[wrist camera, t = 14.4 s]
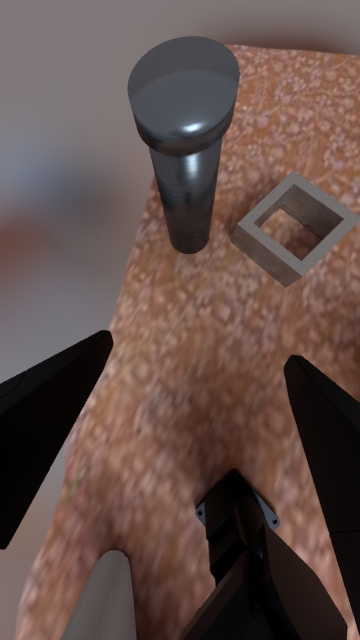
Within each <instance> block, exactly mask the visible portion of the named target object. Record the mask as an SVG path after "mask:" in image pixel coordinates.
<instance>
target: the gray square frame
mask: <svg viewBox="0 0 360 640" xmlns="http://www.w3.org/2000/svg"><path fill="white" fill-rule="evenodd" d="M279 208H281V209H283V210H284V211H285V212H287V213H288V214H289V215H291V216H292V217H293V218H295V219H296V220H297V221H299V222H300V223H301V224H303V225H304V226H306V227H307V228H308V229H310V230H311V231H312V232H314V233H315V234H316V235H318V236H319V237H320V238H322V239H320V240H319V241H318V242H317V243H316V244H315V245H314V246H313V247H312V248H311V249H310V250H309V251H308V252H307V253H306V254H305V255H304V256H303V257H302V258H301V259H300V260H299V259H298V258H297V257H296V256H294V255H293V254H292V253H290V252H289V251H288V250H287V249H285V248H284V247H283V246H282V245H280V244H279V243H278V242H277V241H275V240H274V239H273V238H272V237H270V236H269V235H268V234H266V233H265V232H264V231H263V230H261V229H260V228H259V227H260V226H261V225H262V224H263V223H264V222H265V221H266V220H267V219H268V218H269V217H270V216H272V215H273V214H274V213H275V212H276V211H277V210H278V209H279ZM359 221H360V216H359V215H357V214H356V213H354V212H353V211H351V210H350V209H348V208H347V207H345V206H344V205H343V204H341V203H340V202H338V201H337V200H335V199H334V198H332V197H331V196H329V195H328V194H326V193H325V192H324V191H322V190H321V189H319V188H318V187H316V186H315V185H313V184H312V183H310V182H309V181H307V180H306V179H305V178H303V177H302V176H300V175H299V174H297V173H296V172H294V171H292V172H291V173H290V174H289V175H288V176H287V177H286V178H285V179H284V180H283V181H282V182H281V183H280V184H278V185H277V186H276V187H275V188H274V189H273V190H272V191H271V192H270V193H269V194H268V195H267V196H266V197H265V198H264V199H263V200H262V201H261V202H260V203H258V204H257V205H256V206H255V207H254V208H253V209H252V210H251V211H250V212H249V213H248V214H247V215H246V216H245V217H244V218H243V219H242V220H241V221H240V222H238V223H237V226H236V229H235V232H234V235H233V238H232V241H231V242H232V243H233V244H235V245H236V246H237V247H238V248H239V249H240V250H242V251H243V252H244V253H245V254H246V255H248V256H249V257H250V258H251V259H252V260H254V261H255V262H256V263H257V264H258V265H259V266H261V267H262V268H263V269H264V270H265V271H267V272H268V273H269V274H270V275H271V276H273V277H274V278H275V279H276V280H277V281H278V282H280V283H281V284H282V285H283V286H284V287H288V286H290V285H291V284H293V283H294V282H296V281H297V280H299V279H300V278H302V277H303V276H304V275H305V274H306V273H307V272H308V271H309V270H310V269H311V268H312V267H313V266H314V265H315V264H316V263H317V262H318V261H319V260H320V259H321V258H323V257H324V256H325V255H326V254H327V253H328V252H329V251H330V250H331V249H332V248H333V247H334V246H335V245H336V244H337V243H338V242H339V241H340V240H341V239H342V238H343V237H344V236H345V235H346V234H347V233H348V232H349V231H350V230H351V229H352V228H353V227H354V226H355V225H356V224H357V223H358V222H359Z"/></svg>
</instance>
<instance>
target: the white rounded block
mask: <svg viewBox="0 0 360 640" xmlns="http://www.w3.org/2000/svg"><path fill="white" fill-rule="evenodd" d="M60 640H137V638H136V623H135V610H134V599H133V590H132V580H131V572H130V565H129V561H128V558H127V557H125V555H124V553H123V552H121V551H118V550H110V551H107V552H106V553H104V554H103V555H102V557H101V558H100V559H98V560H97V561H96V563H95V565H94V567H93V569H92V571H91V573H90V575H89V578H88V580H87V582H86V584H85V587H84V589H83V591H82V593H81V595H80V598H79V600H78V602H77V604H76V606H75V609H74V611H73V613H72V615H71V617H70V619H69V622H68V624H67V626H66V628H65V631H64V633H63V635H62V637H61V639H60Z"/></svg>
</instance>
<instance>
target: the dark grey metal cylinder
mask: <svg viewBox="0 0 360 640" xmlns="http://www.w3.org/2000/svg"><path fill="white" fill-rule="evenodd" d="M239 76H240V72H239V66H238V62H237V60H236V58H235V56H234V55H233V53H232V52H231V51H230V50H229V49H228V48H227V47H225V46H224V45H223V44H221V43H219V42H217V41H215V40H212V39H209V38H204V37H193V36H191V37H181V38H176V39H172V40H169V41H167V42H164V43H162V44H160V45H158V46H156V47H154V48H153V49H152V50H150V51H148V52H147V53H146V54H145V55H144V56H143V57H142V58H141V59H140V60H139V61H138V62H137V64H136V65H135V67H134V68H133V70H132V72H131V74H130V77H129V81H128V97H129V100H130V104H131V108H132V111H133V115H134V119H135V123H136V126H137V130H138V133H139V135H140V137H141V138H142V140H143V141H144V142H145V143H146V144H147V145H148V146H149V150H150V154H151V159H152V163H153V167H154V172H155V176H156V180H157V184H158V189H159V193H160V197H161V202H162V206H163V210H164V215H165V219H166V223H167V227H168V232H169V236H170V240H171V243H172V245H173V247H174V248H175V249H176V250H177V251H179V252H181V253H184V254H193V253H196V252H199V251H200V250H202V249H203V248H204V247H205V246H206V244H207V242H208V240H209V234H210V226H211V219H212V211H213V204H214V197H215V189H216V182H217V174H218V167H219V160H220V152H221V145H222V137H223V135H224V134H225V133H226V132H227V130H228V128H229V127H230V124H231V122H232V118H233V114H234V108H235V102H236V96H237V90H238V84H239Z"/></svg>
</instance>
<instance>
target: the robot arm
mask: <svg viewBox="0 0 360 640" xmlns="http://www.w3.org/2000/svg"><path fill="white" fill-rule="evenodd" d="M113 344H114V343H113V339H112V335H111V332H110V331H107V330H101V331H99V332H97V333H95V334H93V335H91V336H89V337H88V338H86V339H84V340H82V341H80V342H78V343H76V344H75V345H73V346H71V347H69V348H67V349H65V350H63V351H62V352H59V353H58V354H56V355H54V356H52V357H50V358H48V359H46V360H44V361H43V362H41V363H39V364H37V365H35V366H33V367H31V368H29V369H28V370H27V371H24V372H22V373H20V374H18V375H16V376H15V377H13V378H10V379H9V380H7V381H5V382H3V383H1V384H0V550H4V549H6V548H7V546H8V545H9V543H10V541H11V539H12V538H13V536H14V534H15V532H16V530H17V528H18V527H19V525H20V523H21V521H22V519H23V518H24V516H25V514H26V512H27V510H28V508H29V506H30V505H31V503H32V501H33V499H34V497H35V495H36V494H37V492H38V490H39V488H40V486H41V484H42V483H43V481H44V479H45V477H46V475H47V473H48V472H49V470H50V467H51V466H52V464H53V462H54V460H55V458H56V456H57V455H58V453H59V451H60V449H61V447H62V445H63V444H64V442H65V440H66V438H67V436H68V434H69V433H70V431H71V429H72V427H73V425H74V423H75V422H76V420H77V418H78V416H79V414H80V412H81V410H82V409H83V407H84V405H85V403H86V401H87V399H88V398H89V396H90V394H91V392H92V390H93V388H94V387H95V385H96V383H97V381H98V379H99V377H100V375H101V374H102V372H103V369H104V367H105V365H106V362H107V360H108V357H109V355H110V353H111V350H112V348H113ZM284 375H285V380H286V386H287V391H288V397H289V401H290V405H291V408H292V412H293V415H294V418H295V422H296V425H297V428H298V432H299V435H300V438H301V442H302V445H303V448H304V452H305V455H306V458H307V462H308V465H309V468H310V472H311V475H312V478H313V482H314V485H315V488H316V492H317V495H318V498H319V502H320V505H321V508H322V512H323V515H324V518H325V522H326V525H327V528H328V531H329V536H330V539H331V542H332V546H333V549H334V552H335V555H336V559H337V562H338V565H339V569H340V572H341V575H342V579H343V582H344V585H345V589H346V592H347V595H348V599H349V602H350V605H351V609H352V612H353V615H354V619H355V622H356V625H357V629H358V632H359V635H360V403H359V402H358V401H357V400H355V399H354V398H353V397H352V396H351V395H349V394H348V393H347V392H346V391H344V390H343V389H342V388H341V387H340V386H338V385H337V384H336V383H335V382H333V381H332V380H331V379H330V378H329V377H327V376H326V375H325V374H324V373H322V372H321V371H320V370H319V369H317V368H316V367H315V366H314V365H313V364H311V363H310V362H309V361H308V360H306V359H305V358H304V357H303V356H300V355H291V356H290V357H289V359H288V360H287V362H286V363H285V365H284ZM234 474H237V476H234ZM199 510H201V511H202V512H199ZM196 516H197V517H198V518H199V520H200V521H201V522H202V524H203V525H204V526H205V527H206V539H207V540H208V546H209V562H210V572H211V574H212V575H213V577H214V578H215V585H216V588H215V589H214V591H213V592H212V593H211V595H210V596H209V597H208V599H207V600H206V601H205V603H204V604H203V605H202V606H201V608H199V610H198V611H197V612H196V613H195V616H194V617H193V618H192V620H191V621H190V622H189V624H188V625H187V626H186V628H185V629H184V630H183V632H182V634H181V636H180V639H179V640H347V628H348V626H347V624H346V622H345V620H344V618H343V617H342V615H341V613H340V612H339V610H338V608H337V607H336V605H335V604H334V602H333V600H332V599H331V597H330V596H329V594H328V592H327V591H326V589H325V587H324V586H323V584H322V583H321V581H320V579H319V578H318V576H317V575H316V573H315V572H314V571H313V570H312V569H311V568H310V567H309V566H308V565H307V564H306V563H305V562H304V561H303V560H302V559H301V558H300V557H299V556H298V555H297V554H296V553H295V552H294V551H293V550H292V549H291V548H290V547H289V546H288V545H287V544H286V543H285V542H284V541H283V540H282V539H281V538H280V537H279V536H278V535H277V534H276V533H275V532H274V530H275V529H276V528H277V527H278V526H279V524H280V521H279V518H278V516H277V515H276V513H275V512H274V511H273V510H272V509H271V508H270V506H269V505H268V504H267V503H266V502H265V501H264V500H263V498H262V497H261V496H260V495H259V494H258V493H257V492H256V490H255V489H254V488H253V487H252V486H251V485H250V484H249V482H248V481H247V480H246V479H245V478H244V477H243V475H242V474H241V473H240V472H239V471H238V470H237V469H232V470H231V471H230V472H229V473H228V474H227V475H226V476H225V477H224V478H223V479H222V480H220V481H218V482H217V483H216V484H215V485H214V487H213V488H212V489H211V490H210V491H209V492H208V493H207V494H206V495H205V496H204V499H203V500H202V501H201V502H200V503H199V504H198V505H197V506H196ZM273 519H275V520H274V521H273Z"/></svg>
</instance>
